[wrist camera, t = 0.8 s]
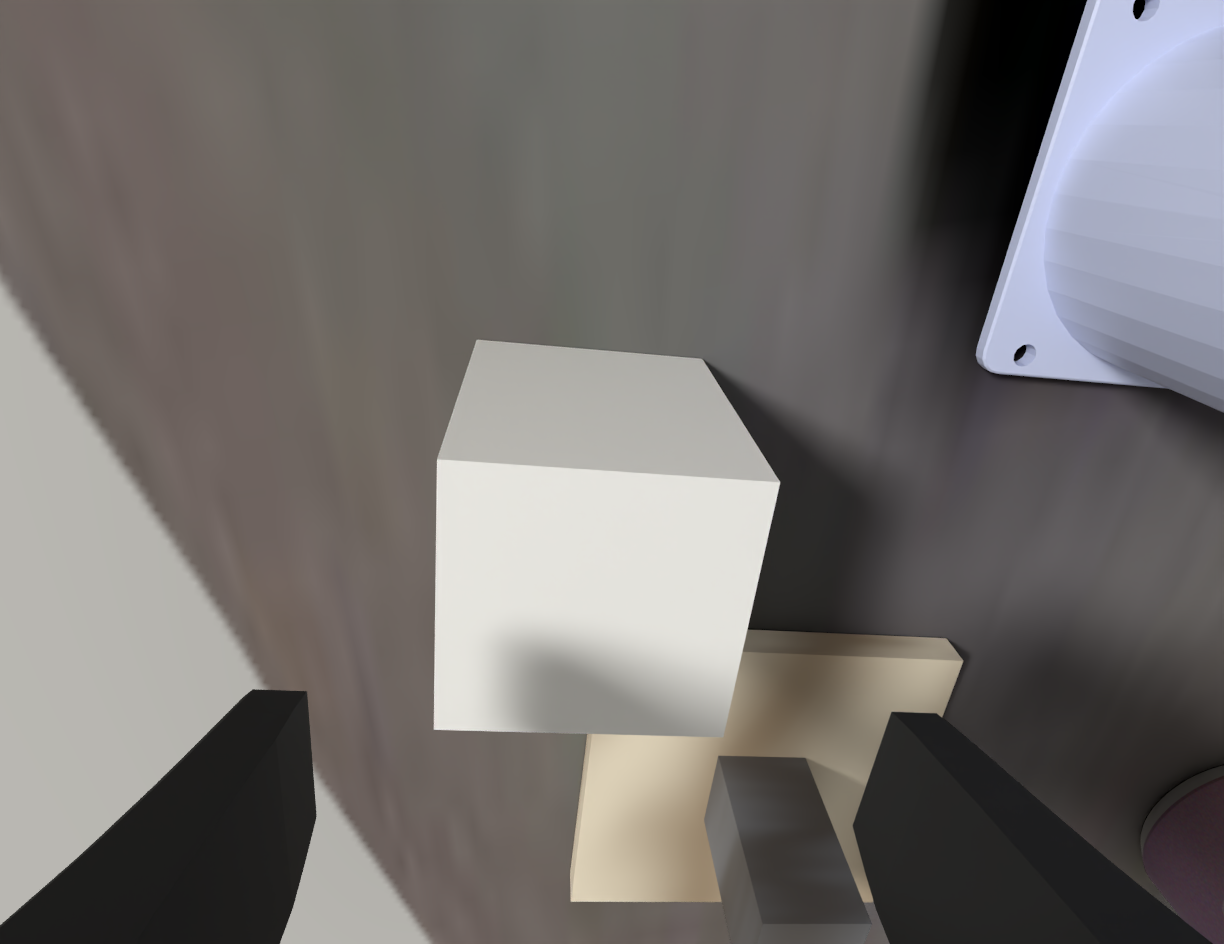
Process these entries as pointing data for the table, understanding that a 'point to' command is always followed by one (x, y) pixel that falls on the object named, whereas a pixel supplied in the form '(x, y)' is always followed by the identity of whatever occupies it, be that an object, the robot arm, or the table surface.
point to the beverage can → (1190, 851)
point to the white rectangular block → (594, 544)
